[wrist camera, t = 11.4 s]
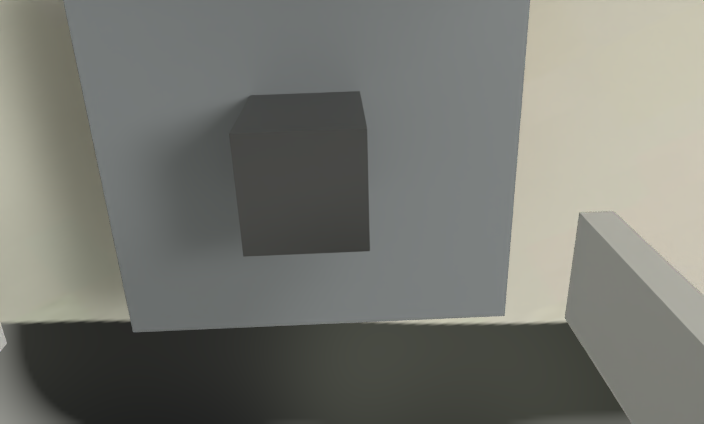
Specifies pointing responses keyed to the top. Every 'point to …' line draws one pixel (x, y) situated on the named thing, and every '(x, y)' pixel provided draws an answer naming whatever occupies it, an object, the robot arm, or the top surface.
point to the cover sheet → (408, 153)
